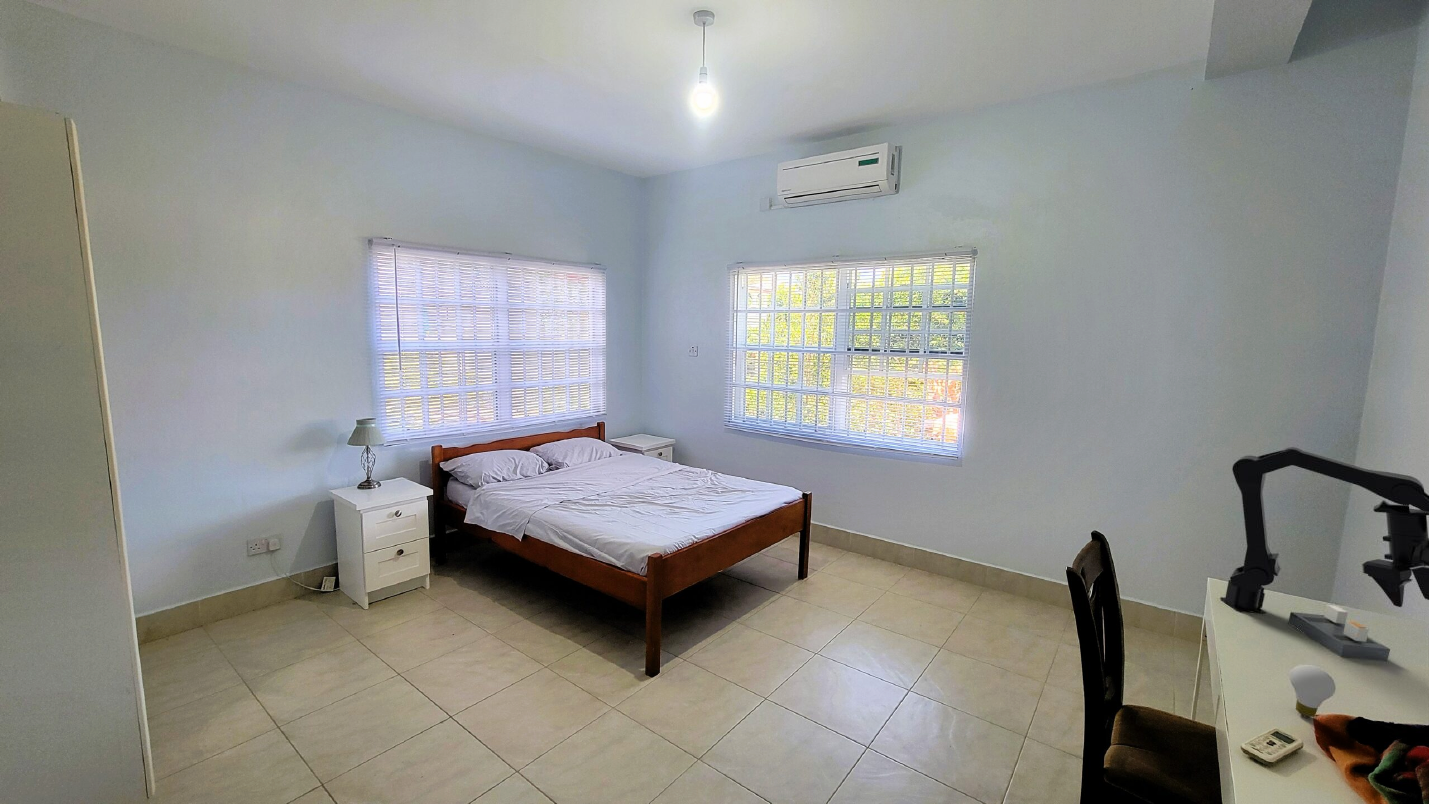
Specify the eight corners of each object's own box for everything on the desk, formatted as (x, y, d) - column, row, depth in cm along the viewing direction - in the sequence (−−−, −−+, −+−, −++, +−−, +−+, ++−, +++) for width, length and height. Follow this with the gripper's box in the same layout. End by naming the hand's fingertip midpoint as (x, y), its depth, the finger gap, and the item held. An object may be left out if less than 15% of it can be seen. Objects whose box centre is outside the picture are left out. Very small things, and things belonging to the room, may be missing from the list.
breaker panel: (1340, 656, 127) (1343, 644, 127) (1288, 623, 141) (1290, 611, 140) (1387, 661, 126) (1390, 648, 126) (1329, 627, 140) (1332, 615, 139)
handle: (1335, 622, 135) (1338, 611, 135) (1324, 616, 138) (1326, 604, 138) (1345, 623, 135) (1347, 612, 134) (1333, 617, 138) (1336, 605, 137)
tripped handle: (1355, 640, 128) (1358, 627, 127) (1343, 633, 131) (1346, 620, 130) (1365, 641, 127) (1369, 628, 127) (1353, 634, 130) (1356, 621, 130)
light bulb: (1336, 729, 104) (1348, 680, 102) (1298, 724, 105) (1309, 674, 103) (1310, 708, 110) (1321, 660, 108) (1274, 702, 111) (1284, 655, 109)
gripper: (1428, 548, 117) (1435, 623, 117) (1493, 535, 120) (1499, 608, 121) (1357, 536, 128) (1363, 605, 128) (1418, 524, 131) (1424, 591, 132)
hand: (1413, 603), depth 127 cm, fingers open, 9 cm apart
